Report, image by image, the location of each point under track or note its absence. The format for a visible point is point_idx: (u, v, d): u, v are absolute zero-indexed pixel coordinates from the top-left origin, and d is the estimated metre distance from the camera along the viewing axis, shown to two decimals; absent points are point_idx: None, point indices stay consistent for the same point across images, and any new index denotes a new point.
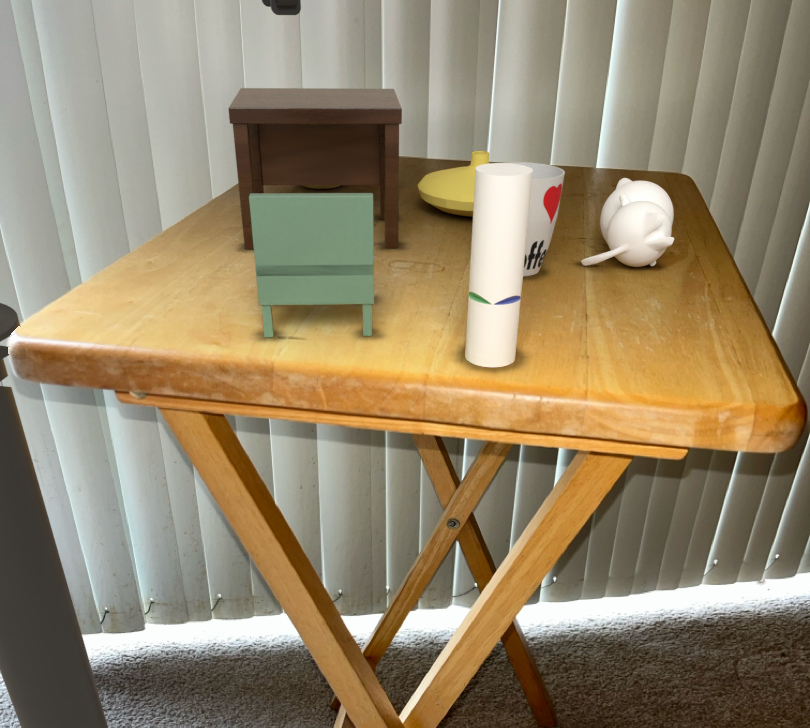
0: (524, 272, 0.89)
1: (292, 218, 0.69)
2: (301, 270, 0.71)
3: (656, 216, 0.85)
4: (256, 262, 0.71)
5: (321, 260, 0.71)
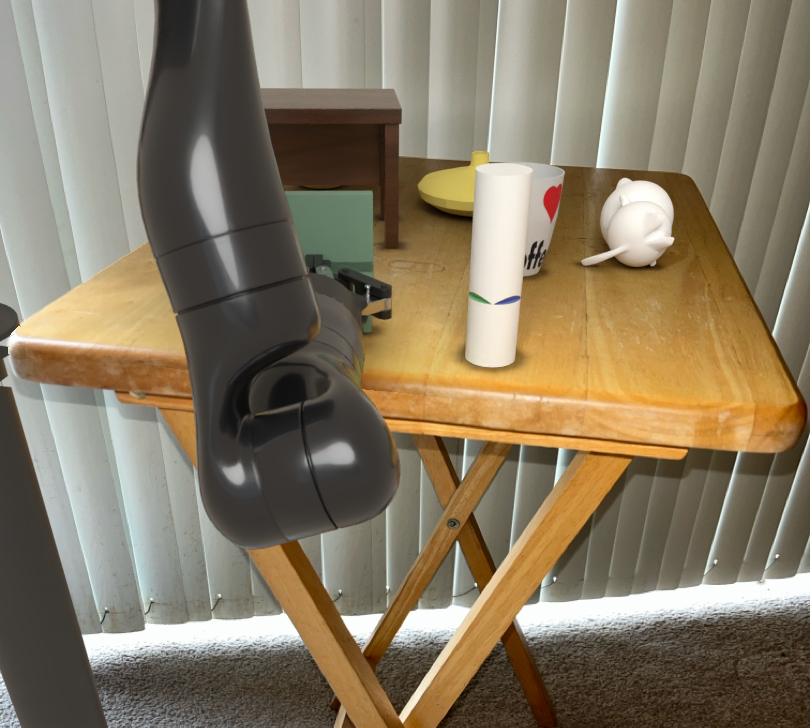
0: (524, 272, 0.89)
1: (292, 215, 0.69)
2: None
3: (656, 216, 0.85)
4: None
5: None
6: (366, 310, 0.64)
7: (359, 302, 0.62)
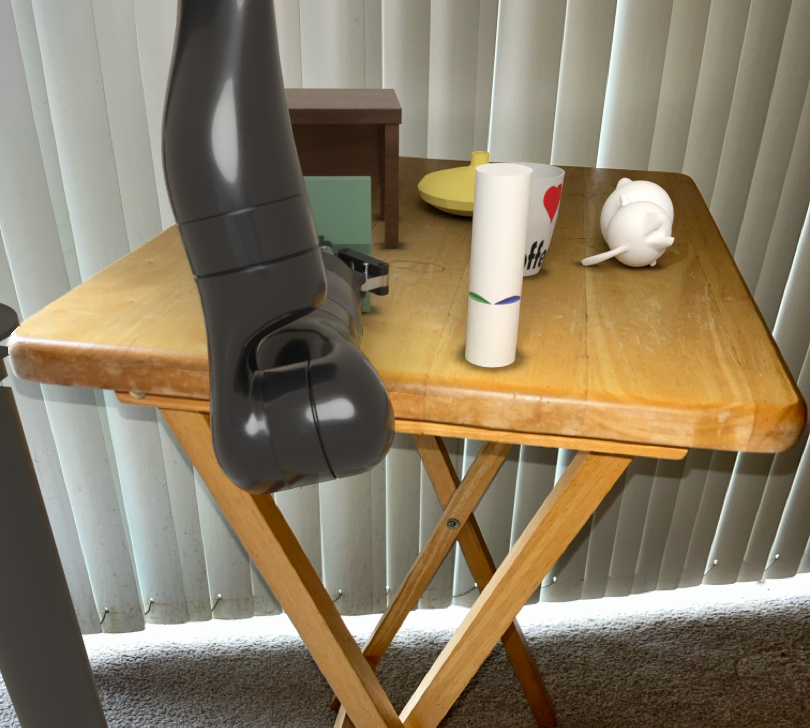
0: (524, 272, 0.89)
1: None
2: None
3: (656, 216, 0.85)
4: None
5: None
6: (364, 286, 0.68)
7: (358, 278, 0.66)
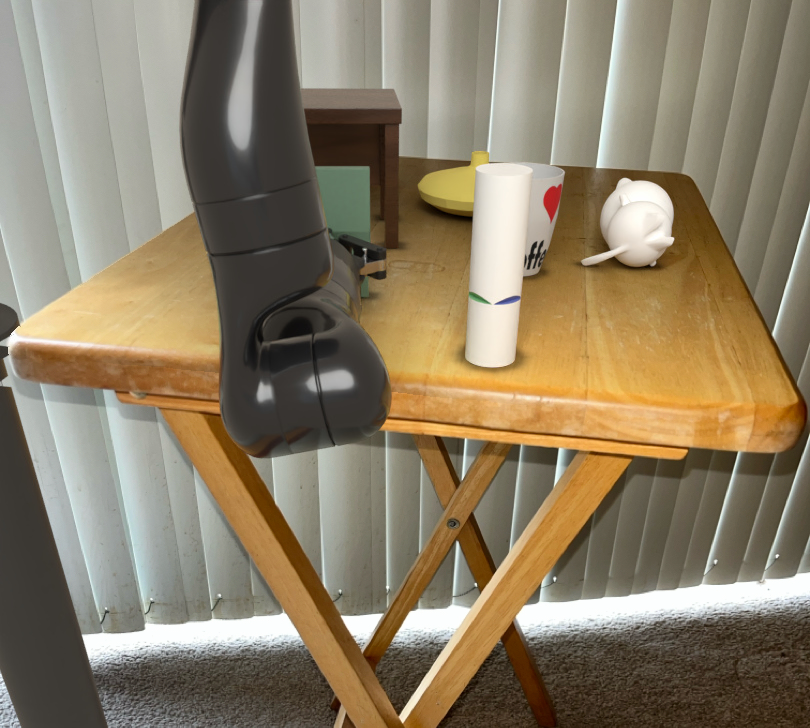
0: (524, 272, 0.89)
1: None
2: None
3: (656, 216, 0.85)
4: None
5: None
6: (363, 270, 0.71)
7: (357, 262, 0.69)
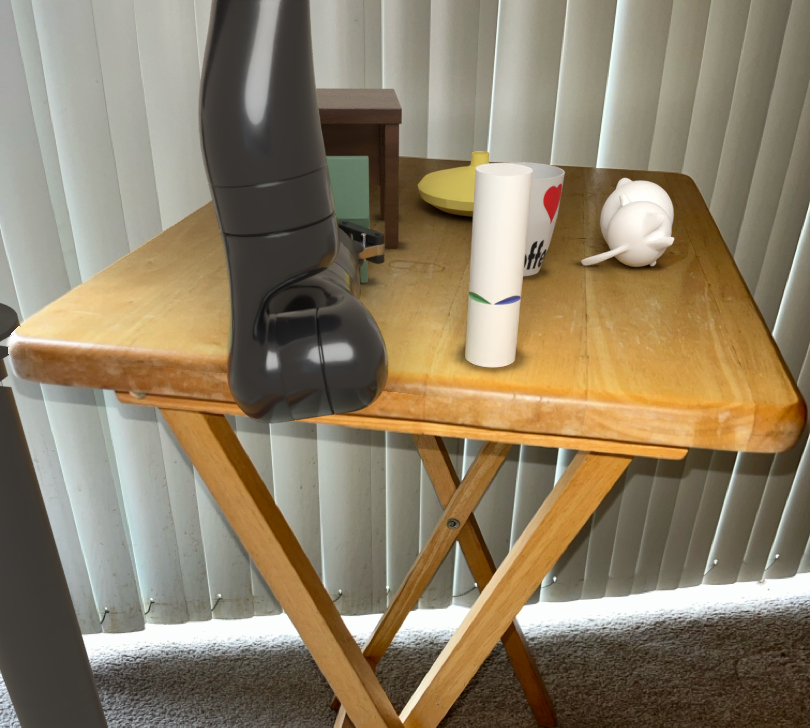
0: (524, 272, 0.89)
1: None
2: None
3: (656, 216, 0.85)
4: None
5: None
6: (362, 254, 0.75)
7: (356, 246, 0.73)
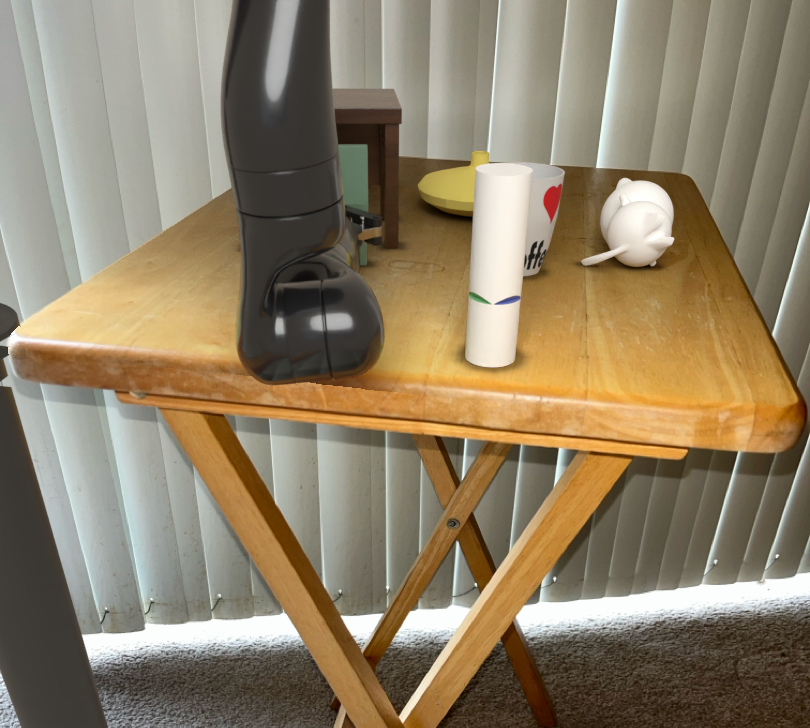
0: (524, 272, 0.89)
1: None
2: None
3: (656, 216, 0.85)
4: None
5: None
6: (361, 236, 0.79)
7: (355, 228, 0.78)
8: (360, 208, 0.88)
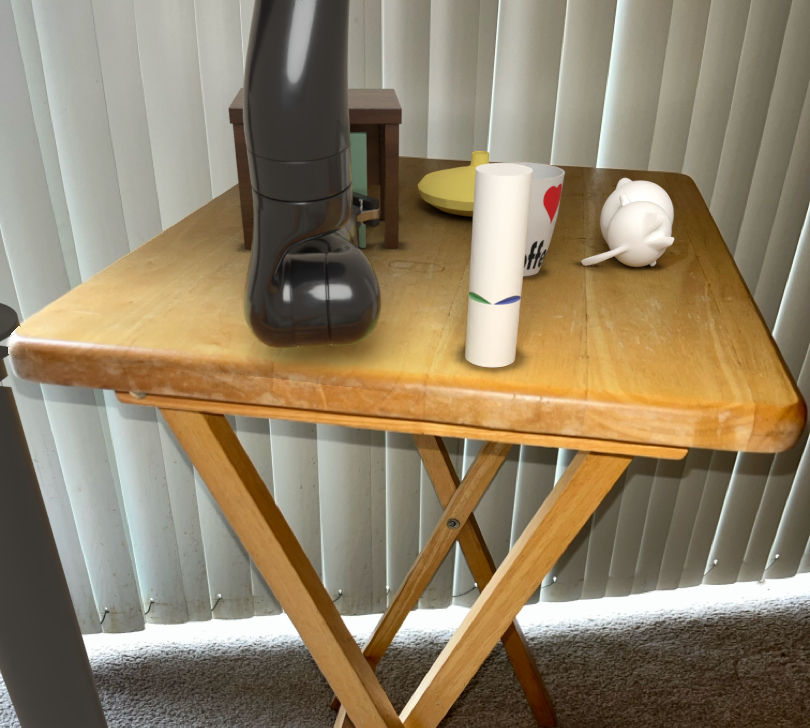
0: (524, 272, 0.89)
1: None
2: None
3: (656, 216, 0.85)
4: None
5: None
6: (360, 217, 0.84)
7: (354, 209, 0.83)
8: (359, 193, 0.93)
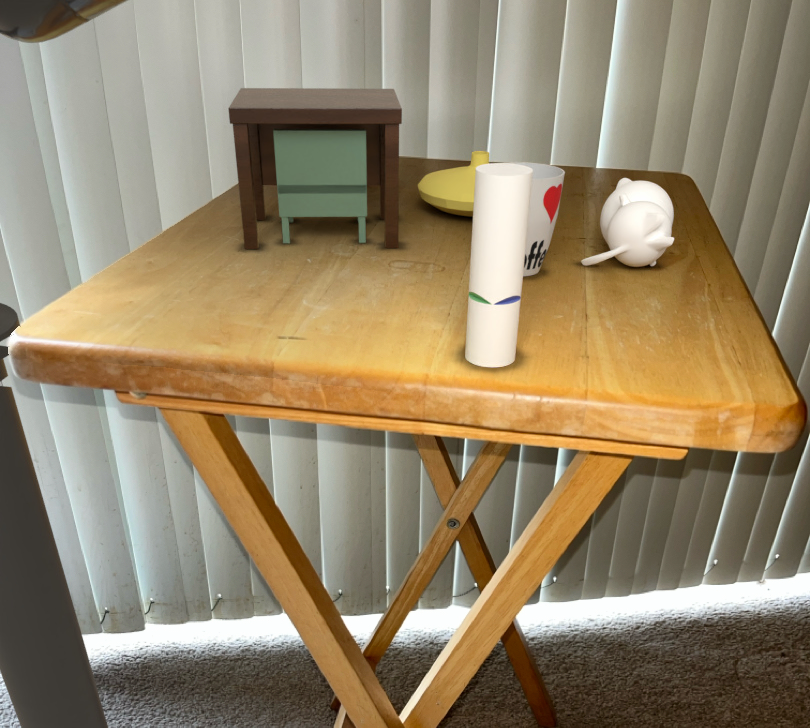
0: (524, 272, 0.89)
1: (305, 147, 0.91)
2: (311, 189, 0.94)
3: (656, 216, 0.85)
4: (278, 183, 0.93)
5: (327, 181, 0.94)
6: None
7: None
8: (359, 189, 0.94)
